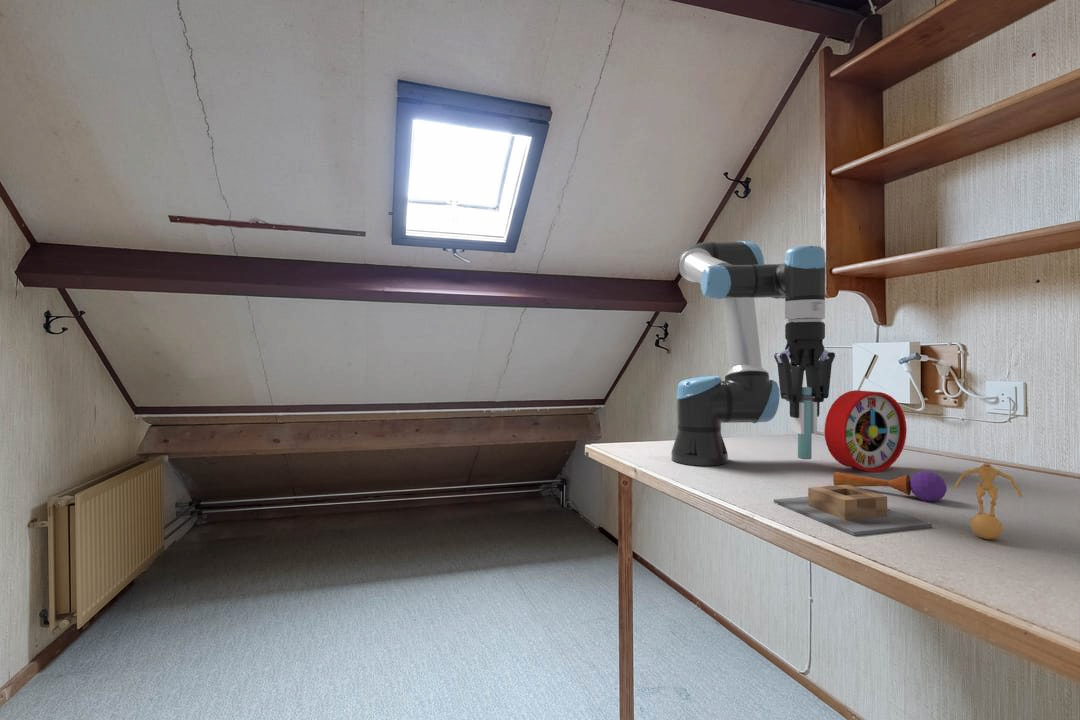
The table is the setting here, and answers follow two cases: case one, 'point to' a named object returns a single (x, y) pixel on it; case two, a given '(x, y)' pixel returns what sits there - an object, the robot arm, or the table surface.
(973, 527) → the figurine
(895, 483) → the kendama
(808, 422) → the banded teal rod
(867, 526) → the gray base plate
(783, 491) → the table surface
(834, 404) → the toy clock
